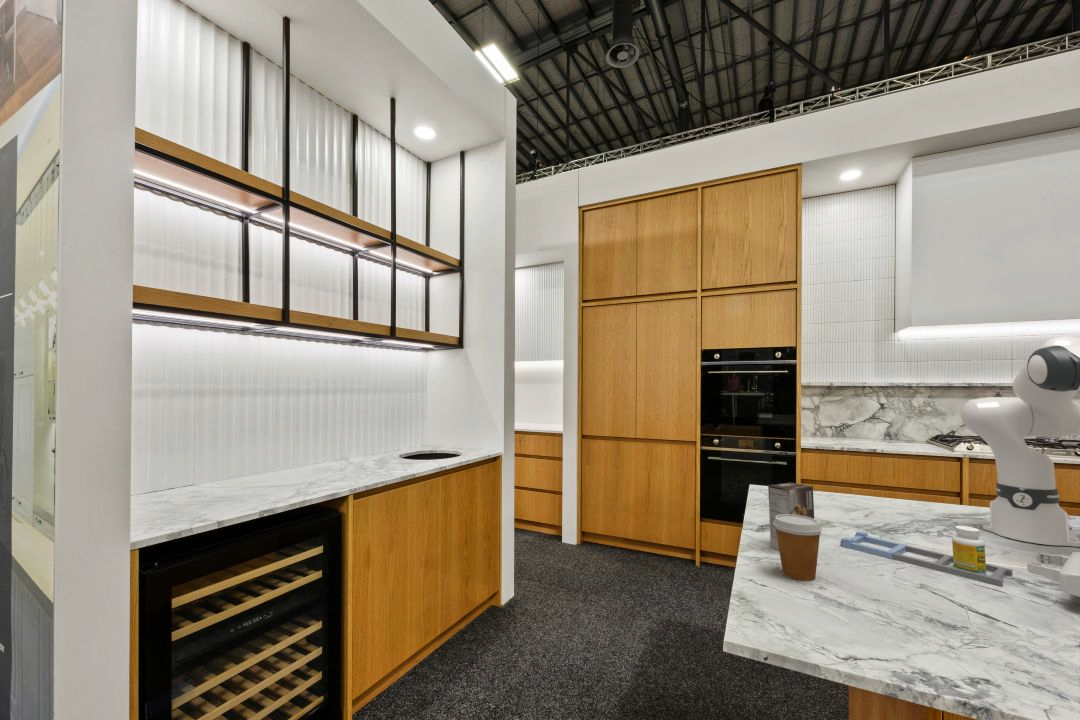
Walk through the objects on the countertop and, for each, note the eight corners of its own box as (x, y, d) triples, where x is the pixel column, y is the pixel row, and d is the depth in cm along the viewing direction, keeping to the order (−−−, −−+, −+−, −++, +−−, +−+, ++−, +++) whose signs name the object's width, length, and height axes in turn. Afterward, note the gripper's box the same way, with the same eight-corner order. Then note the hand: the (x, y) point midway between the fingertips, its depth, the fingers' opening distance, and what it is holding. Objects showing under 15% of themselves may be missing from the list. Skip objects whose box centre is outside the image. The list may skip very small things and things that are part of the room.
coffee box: (793, 542, 121) (791, 481, 122) (816, 550, 115) (814, 486, 116) (769, 547, 117) (767, 484, 118) (792, 555, 111) (789, 489, 112)
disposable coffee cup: (819, 588, 93) (816, 528, 93) (769, 575, 99) (767, 519, 100) (828, 574, 100) (826, 519, 100) (781, 563, 106) (779, 511, 107)
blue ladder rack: (857, 538, 124) (857, 530, 124) (1013, 574, 100) (1012, 565, 100) (839, 546, 118) (839, 538, 118) (1001, 587, 93) (1000, 577, 94)
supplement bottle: (957, 565, 105) (955, 523, 106) (989, 573, 101) (986, 529, 101) (950, 570, 102) (947, 527, 103) (982, 578, 98) (979, 533, 98)
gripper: (1144, 556, 89) (1040, 537, 100) (1138, 581, 77) (1021, 556, 88) (1147, 589, 88) (1042, 566, 100) (1141, 619, 77) (1023, 589, 88)
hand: (1032, 561), depth 94 cm, fingers open, 8 cm apart
